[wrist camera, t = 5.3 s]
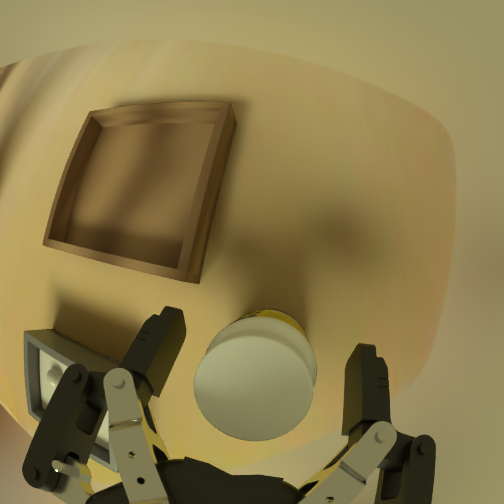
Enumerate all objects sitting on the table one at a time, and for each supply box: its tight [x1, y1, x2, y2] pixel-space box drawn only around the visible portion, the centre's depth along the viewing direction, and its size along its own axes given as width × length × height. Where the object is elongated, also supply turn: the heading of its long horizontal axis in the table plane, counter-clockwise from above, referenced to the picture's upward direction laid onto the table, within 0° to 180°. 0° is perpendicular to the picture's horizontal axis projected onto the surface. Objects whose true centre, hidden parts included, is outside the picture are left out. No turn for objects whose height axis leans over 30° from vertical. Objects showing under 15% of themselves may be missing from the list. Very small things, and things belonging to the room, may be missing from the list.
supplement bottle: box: [194, 309, 317, 441], centre depth 12 cm, size 5×5×8 cm
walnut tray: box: [42, 102, 236, 284], centre depth 18 cm, size 13×12×3 cm
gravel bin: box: [24, 329, 122, 473], centre depth 15 cm, size 10×8×4 cm
